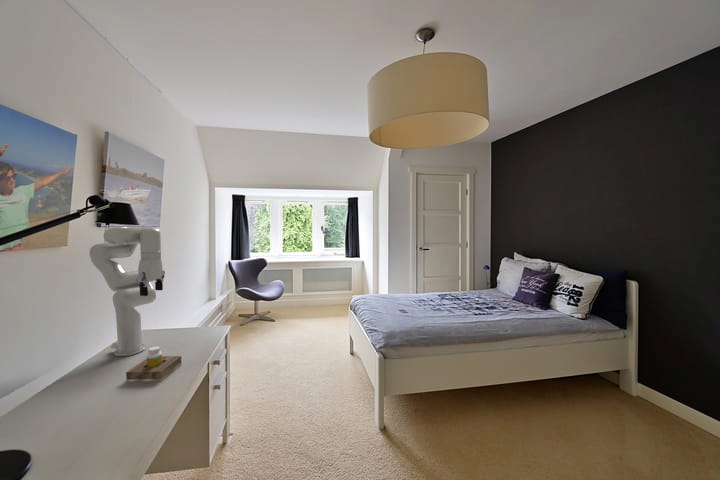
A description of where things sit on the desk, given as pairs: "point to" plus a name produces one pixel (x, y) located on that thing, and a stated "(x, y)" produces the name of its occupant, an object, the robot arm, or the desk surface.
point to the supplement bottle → (154, 357)
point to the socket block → (153, 370)
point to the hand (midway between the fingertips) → (151, 292)
